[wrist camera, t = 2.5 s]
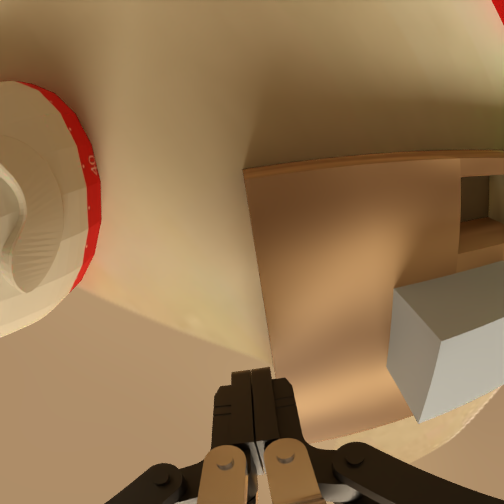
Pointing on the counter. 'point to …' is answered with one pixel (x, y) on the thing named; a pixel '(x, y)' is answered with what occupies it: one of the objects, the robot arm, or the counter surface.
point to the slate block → (448, 340)
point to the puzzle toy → (499, 8)
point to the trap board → (359, 268)
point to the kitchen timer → (43, 203)
